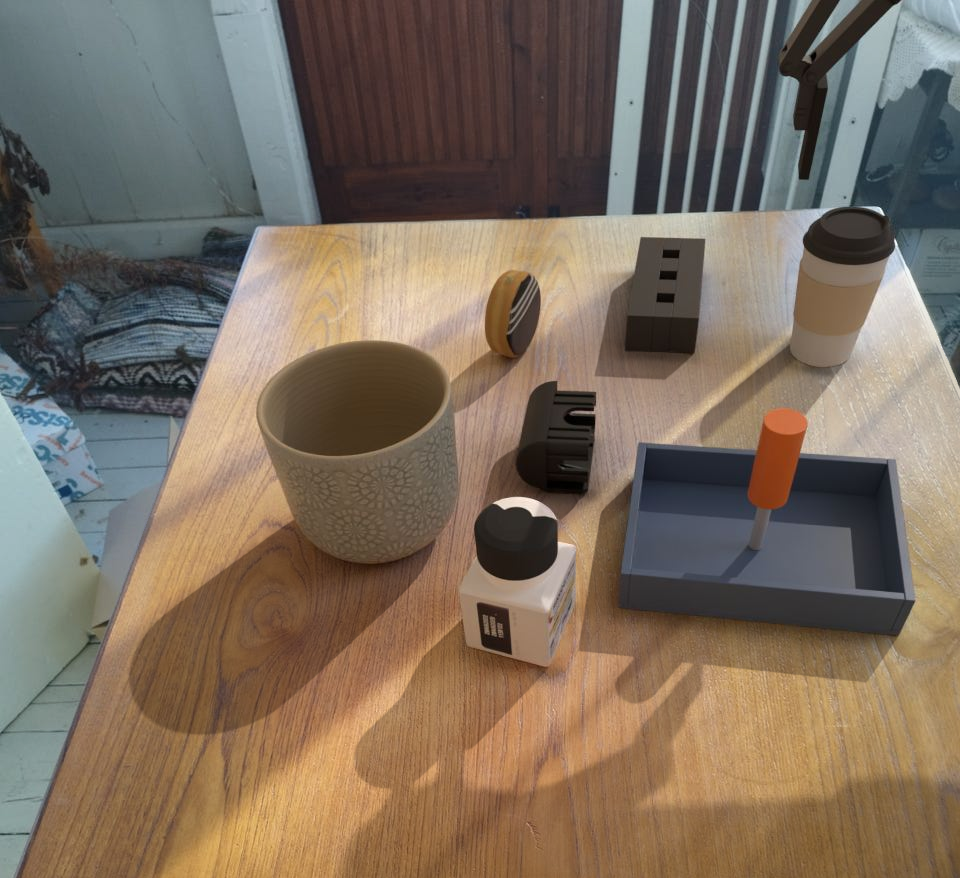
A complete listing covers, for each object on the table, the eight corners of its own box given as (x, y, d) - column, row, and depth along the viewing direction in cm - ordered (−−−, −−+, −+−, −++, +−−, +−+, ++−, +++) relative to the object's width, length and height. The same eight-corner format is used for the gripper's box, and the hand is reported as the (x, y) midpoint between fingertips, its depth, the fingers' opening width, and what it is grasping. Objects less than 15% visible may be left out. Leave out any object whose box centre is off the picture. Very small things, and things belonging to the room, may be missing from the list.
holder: (701, 272, 111) (705, 238, 108) (694, 353, 101) (699, 318, 97) (638, 270, 113) (640, 236, 109) (624, 350, 102) (627, 315, 99)
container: (548, 669, 74) (546, 564, 64) (465, 647, 76) (449, 542, 66) (576, 604, 78) (578, 495, 68) (496, 584, 80) (486, 477, 70)
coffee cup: (775, 367, 98) (804, 236, 86) (783, 323, 103) (811, 194, 91) (860, 376, 96) (902, 243, 84) (863, 331, 101) (903, 200, 89)
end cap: (529, 432, 94) (527, 378, 89) (595, 434, 93) (597, 380, 88) (516, 494, 88) (513, 441, 83) (587, 498, 87) (588, 444, 82)
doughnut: (511, 375, 101) (506, 294, 93) (483, 368, 102) (476, 288, 94) (545, 332, 106) (543, 252, 98) (517, 326, 107) (513, 247, 99)
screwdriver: (774, 534, 81) (807, 409, 70) (774, 560, 79) (808, 436, 68) (736, 531, 82) (763, 406, 71) (736, 557, 80) (763, 433, 69)
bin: (882, 495, 84) (896, 458, 80) (899, 636, 73) (916, 601, 70) (635, 477, 88) (638, 442, 85) (618, 607, 78) (620, 573, 74)
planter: (499, 502, 87) (489, 371, 75) (397, 613, 79) (367, 484, 67) (369, 449, 94) (341, 321, 82) (262, 546, 86) (214, 419, 74)
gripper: (781, -171, 52) (729, 192, 68) (1257, -199, 47) (1078, 197, 64) (780, -196, 56) (731, 151, 73) (1214, -223, 52) (1057, 153, 68)
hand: (893, 173), depth 69 cm, fingers open, 13 cm apart
